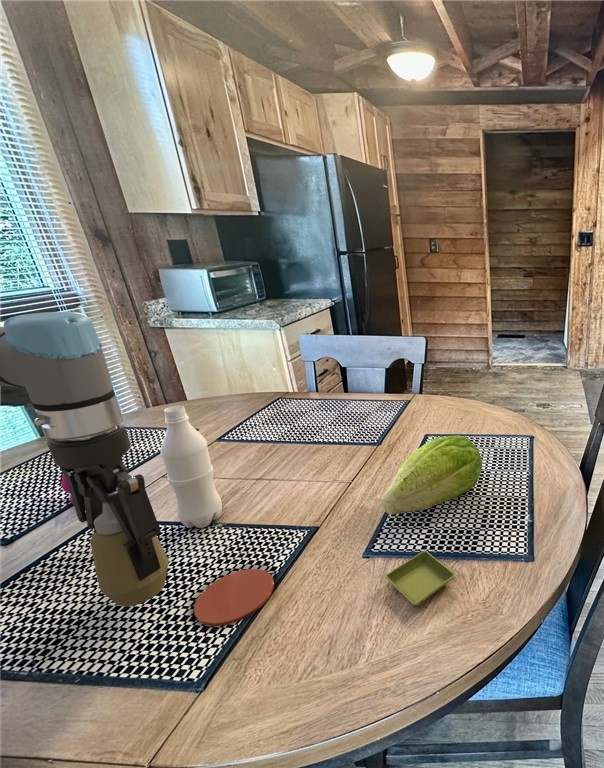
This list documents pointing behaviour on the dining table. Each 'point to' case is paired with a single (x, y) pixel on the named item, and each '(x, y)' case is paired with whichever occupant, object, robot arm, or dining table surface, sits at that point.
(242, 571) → the coaster
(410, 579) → the green square tray
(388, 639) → the dining table surface
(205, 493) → the water bottle
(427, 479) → the lettuce
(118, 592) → the squeeze bottle
